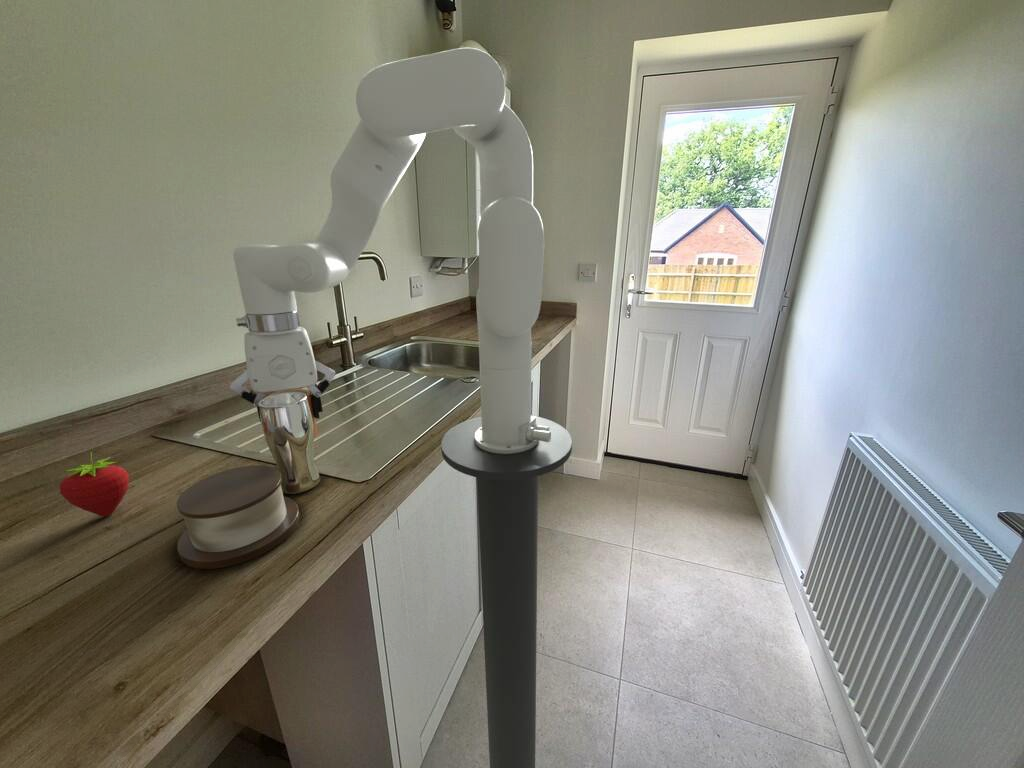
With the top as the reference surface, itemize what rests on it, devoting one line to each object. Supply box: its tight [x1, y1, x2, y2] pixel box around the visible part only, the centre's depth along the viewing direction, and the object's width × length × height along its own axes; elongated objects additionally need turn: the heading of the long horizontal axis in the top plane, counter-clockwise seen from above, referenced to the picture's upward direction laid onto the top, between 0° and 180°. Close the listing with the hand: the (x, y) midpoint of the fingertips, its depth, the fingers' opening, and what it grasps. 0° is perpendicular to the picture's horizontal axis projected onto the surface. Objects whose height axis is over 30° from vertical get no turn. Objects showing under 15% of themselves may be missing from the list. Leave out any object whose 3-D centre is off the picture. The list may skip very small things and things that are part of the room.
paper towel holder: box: [176, 464, 301, 570], centre depth 55 cm, size 14×14×7 cm
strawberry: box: [59, 451, 130, 518], centre depth 58 cm, size 6×8×10 cm
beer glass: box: [258, 392, 321, 495], centre depth 65 cm, size 7×7×15 cm
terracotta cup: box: [266, 388, 319, 438], centre depth 73 cm, size 7×7×8 cm
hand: (293, 419), depth 74 cm, fingers closed on terracotta cup, 7 cm apart
